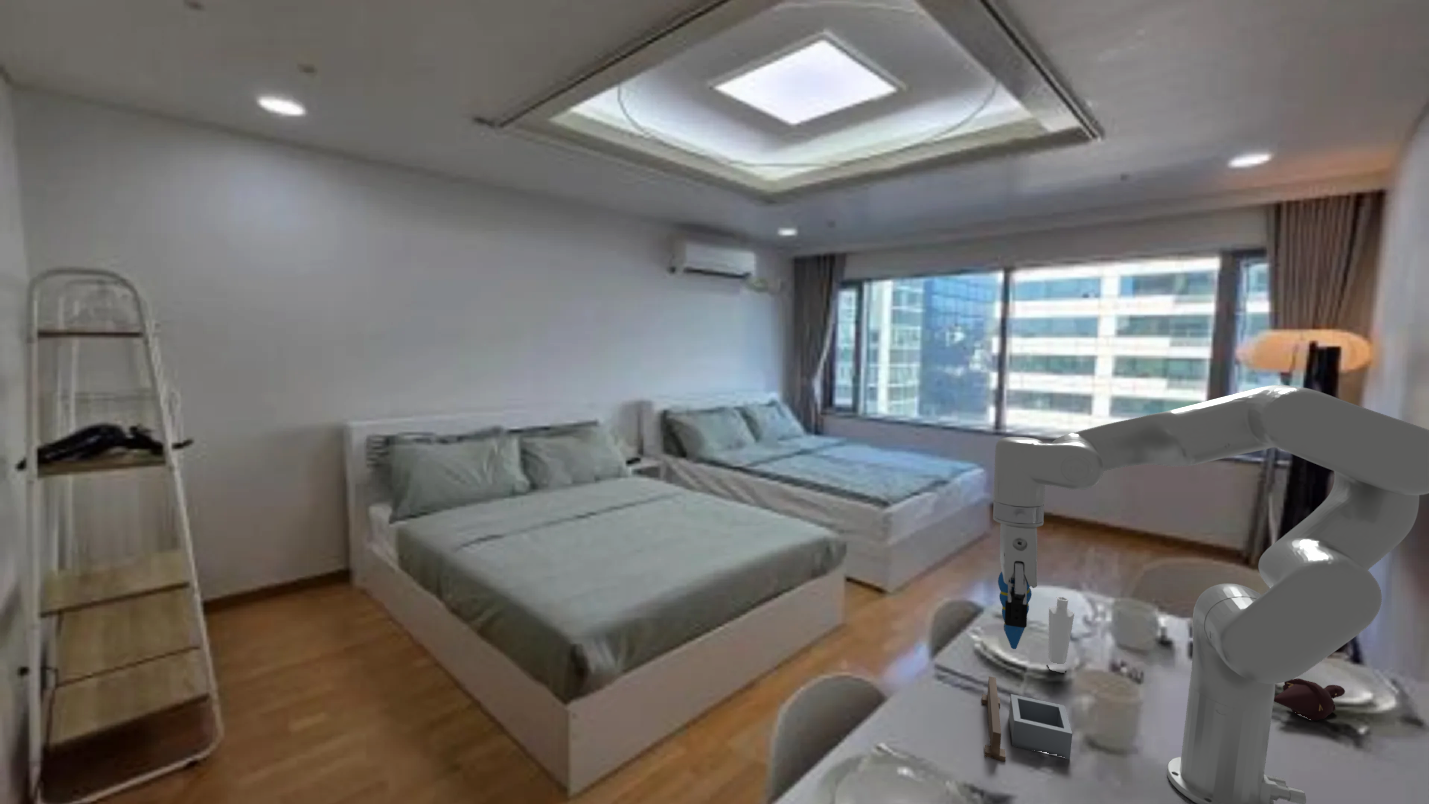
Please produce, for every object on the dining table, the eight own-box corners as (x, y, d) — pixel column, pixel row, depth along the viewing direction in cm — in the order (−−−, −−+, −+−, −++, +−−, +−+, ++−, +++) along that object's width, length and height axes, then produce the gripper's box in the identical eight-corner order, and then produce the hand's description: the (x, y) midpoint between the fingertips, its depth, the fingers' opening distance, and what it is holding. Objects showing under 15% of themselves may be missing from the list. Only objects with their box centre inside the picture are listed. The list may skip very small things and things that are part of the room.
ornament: (1033, 657, 102) (1037, 568, 100) (1000, 654, 103) (1003, 566, 101) (1024, 642, 107) (1027, 557, 105) (992, 640, 108) (995, 556, 106)
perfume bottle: (1038, 665, 129) (1044, 596, 128) (1052, 661, 131) (1059, 593, 129) (1058, 676, 125) (1065, 605, 124) (1073, 672, 127) (1079, 601, 125)
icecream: (1304, 700, 108) (1369, 700, 111) (1262, 668, 114) (1325, 669, 117) (1285, 731, 110) (1350, 730, 113) (1245, 698, 117) (1307, 697, 120)
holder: (1062, 730, 108) (1064, 705, 107) (1069, 760, 100) (1072, 733, 99) (1008, 717, 111) (1010, 694, 110) (1012, 746, 103) (1014, 720, 102)
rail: (999, 701, 116) (1001, 678, 115) (1005, 761, 99) (1007, 735, 98) (981, 697, 117) (983, 675, 116) (984, 756, 100) (986, 730, 100)
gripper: (1050, 528, 93) (1045, 645, 95) (1037, 502, 109) (1033, 603, 111) (996, 523, 96) (992, 637, 98) (990, 498, 112) (987, 597, 113)
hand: (1014, 617), depth 104 cm, fingers closed on ornament, 4 cm apart
